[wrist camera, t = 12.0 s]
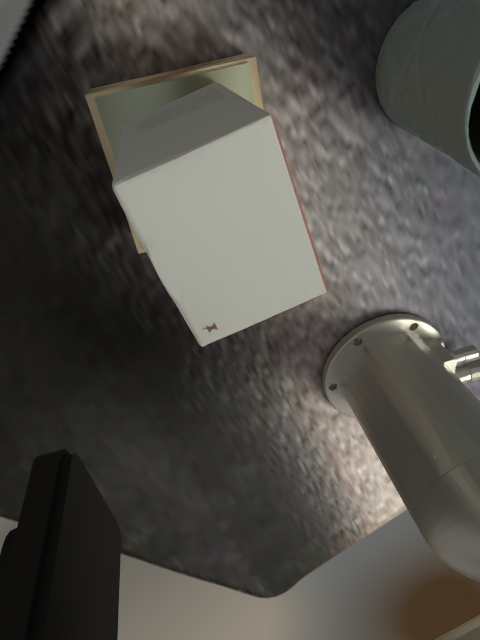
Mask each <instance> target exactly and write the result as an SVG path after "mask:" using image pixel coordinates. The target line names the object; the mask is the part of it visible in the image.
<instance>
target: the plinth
mask: <svg viewBox="0 0 480 640" xmlns="http://www.w3.org/2000/svg"><path fill="white" fill-rule="evenodd" d="M214 82H218V83H220V84H221V85H223V86H224V87H226V88H228V89H229V90H231V91H233V92H234V93H236V94H238V95H239V96H241V97H243V98H244V99H246V100H247V101H249V102H251V103H252V104H254V105H256V106H257V107H259V108H261V109H262V110H263V104H262V97H261V89H260V82H259V75H258V68H257V61H256V56H251V55H247V54H241V55H236V56H232V57H228V58H223V59H219V60H214V61H210V62H206V63H201V64H197V65H193V66H188V67H184V68H179V69H175V70H171V71H166V72H162V73H157V74H153V75H149V76H144V77H140V78H136V79H131V80H127V81H122V82H118V83H114V84H109V85H105V86H100V87H96V88H92V89H90V90H89V91H88V92H87V94H86V95H85V98H86V100H87V103H88V106H89V109H90V112H91V115H92V118H93V121H94V124H95V127H96V130H97V133H98V136H99V139H100V141H101V144H102V147H103V150H104V153H105V156H106V159H107V162H108V165H109V168H110V171H111V174H112V177H114V171H115V164H116V157H117V151H118V145H119V139H120V133H121V126H122V125H123V124H125V123H127V122H129V121H131V120H134V119H136V118H138V117H140V116H142V115H144V114H147V113H149V112H151V111H153V110H155V109H157V108H160V107H162V106H164V105H166V104H168V103H171V102H173V101H175V100H177V99H179V98H181V97H184V96H186V95H188V94H190V93H192V92H194V91H197V90H199V89H201V88H203V87H205V86H207V85H210V84H212V83H214ZM125 215H126V214H125ZM126 218H127V216H126ZM127 221H128V223H129V226H130V229H131V232H132V235H133V238H134V241H135V244H136V247H137V250H138V253H143V252H146V251H145V249H144V247H143V245H142V244H141V242H140V240H139V238H138V236H137V234H136V232H135V231H134V229H133V227H132V225H131V223H130V222H129V220H128V218H127Z"/></svg>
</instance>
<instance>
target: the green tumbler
mask: <svg viewBox="0 0 480 640" xmlns="http://www.w3.org/2000/svg"><path fill="white" fill-rule="evenodd" d="M375 82H376V90H377V94H378V98H379V102H380V104H381V106H382V108H383V110H384V111H385V113H386V115H387V116H388V117H389V118H390V119H391V120H392V121H393V122H394V123H395V124H396V125H398V126H399V127H401V128H403V129H405V130H406V131H408V132H410V133H411V134H413V135H415V136H416V137H419V138H420V139H422V140H423V141H424V142H427V143H428V144H430V145H431V146H433V147H435V148H436V149H438V150H439V151H440V152H442V153H445V154H447V155H449V156H451V157H452V158H453V159H454V160H455V161H456V162H458V163H459V164H461V165H462V166H464V167H466V168H467V169H469V170H470V171H472V172H473V173H475V174H476V175H478V176H479V177H480V0H417V1H416V2H414V3H413V4H412V5H411V6H410V7H408V8H407V9H406V10H405V11H404V12H403V13H402V14H401V15H400V16H399V17H398V18H397V20H396V21H395V23H394V24H393V25H392V27H391V28H390V30H389V31H388V33H387V35H386V37H385V39H384V42H383V44H382V46H381V49H380V52H379V56H378V60H377V65H376V75H375Z"/></svg>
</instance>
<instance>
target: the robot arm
mask: <svg viewBox="0 0 480 640" xmlns="http://www.w3.org/2000/svg"><path fill="white" fill-rule="evenodd" d="M477 358H478V351H477V349H476V347H475V346H473V345H471V346H468V347H464V348H460V349H458V350H456V351H451V350H448V349H447V350H446V349H445V344H444V341H443V338H442V336H441V335H440V333H439V332H438V331H437V329H436V328H435V327H434V326H432V325H431V324H430V323H429V322H428V321H426V320H425V319H423V318H421V317H418V316H415V315H411V314H400V313H399V314H389V315H385V316H381V317H377V318H374V319H372V320H370V321H367V322H365V323H363V324H361V325H360V326H358V327H356V328H355V329H353V330H352V331H351V332H349V333H348V334H347V335H346V336H344V337H343V338H342V339H341V340H340V341H339V343H338V344H337V345H336V346H335V347H334V349H333V350H332V352H331V353H330V355H329V356H328V358H327V361H326V363H325V366H324V369H323V375H322V384H323V388H324V392H325V394H326V396H327V398H328V400H329V402H330V403H331V404H332V405H333V407H334V408H335V409H337V410H338V411H339V412H341V413H342V414H345V415H347V416H350V417H354V418H357V420H358V422H359V423H360V425H361V427H362V429H363V431H364V432H365V434H366V436H367V438H368V440H369V441H370V443H371V445H372V447H373V448H374V450H375V452H376V454H377V456H378V457H379V459H380V461H381V463H382V465H383V466H384V468H385V470H386V472H387V473H388V475H389V477H390V479H391V481H392V482H393V484H394V486H395V488H396V489H397V491H398V493H399V495H400V497H401V498H402V500H403V502H404V504H405V506H406V507H407V509H408V511H409V513H410V514H411V516H412V518H413V520H414V522H415V523H416V525H417V527H418V529H419V531H420V532H421V534H422V536H423V538H424V539H425V541H426V542H427V544H428V545H429V547H430V548H431V549H432V550H433V551H434V553H435V554H436V555H437V556H438V557H439V558H440V559H441V560H443V562H445V563H446V564H447V565H449V566H450V567H452V568H453V569H455V570H456V571H458V572H460V573H462V574H464V575H466V576H468V577H470V578H472V579H474V580H476V581H479V582H480V401H479V400H478V399H477V398H476V397H475V396H474V395H473V394H472V393H471V391H470V390H469V389H468V388H467V387H466V386H465V385H464V384H463V383H466V382H469V383H470V382H473V381H477V380H480V359H479V360H475V361H471V360H474V359H477ZM467 361H471V362H468V363H464V364H462V365H461V366H457V367H456V364H457V363H461V362H467ZM120 553H121V535H120V529H119V526H118V523H117V522H116V520H115V518H114V516H113V515H112V513H111V511H110V509H109V508H108V506H107V504H106V502H105V501H104V499H103V497H102V495H101V494H100V492H99V490H98V489H97V487H96V485H95V483H94V482H93V480H92V478H91V476H90V475H89V473H88V471H87V469H86V468H85V466H84V464H83V462H82V461H81V459H80V457H79V456H78V454H76V453H75V454H71V455H70V453H69V452H68V451H67V450H65V449H63V450H59V451H55V452H52V453H48V454H44V455H40V456H37V457H36V458H35V460H34V462H33V466H32V470H31V474H30V478H29V482H28V486H27V490H26V494H25V498H24V502H23V506H22V510H21V514H20V518H19V523H18V527H17V528H16V529H13V530H11V531H10V532H9V534H8V535H7V536H6V538H5V541H4V544H3V547H2V550H1V554H0V640H117V633H118V632H117V631H118V605H119V579H120ZM436 640H480V616H478V617H476V618H474V619H472V620H471V621H469V622H467V623H465V624H463V625H461V626H459V627H458V628H456V629H454V630H452V631H450V632H448V633H447V634H445V635H443V636H441V637H439V638H437V639H436Z"/></svg>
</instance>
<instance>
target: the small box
mask: <svg viewBox="0 0 480 640" xmlns="http://www.w3.org/2000/svg"><path fill="white" fill-rule="evenodd" d="M112 189H113V191H114V193H115V195H116V197H117V199H118V201H119V203H120V205H121V207H122V208H123V210H124V212H125V214H126V216H127V218H128V220H129V222H130V223H131V225H132V227H133V229H134V231H135V232H136V234H137V236H138V238H139V240H140V242H141V244H142V245H143V247H144V249H145V251H146V253H147V255H148V257H149V258H150V260H151V262H152V264H153V266H154V268H155V270H156V272H157V274H158V276H159V278H160V280H161V281H162V283H163V285H164V286H165V288H166V290H167V292H168V294H169V295H170V297H171V298H172V299H173V301H174V302H175V304H176V305H177V307H178V309H179V310H180V312H181V314H182V315H183V317H184V319H185V321H186V323H187V324H188V326H189V328H190V329H191V331H192V333H193V334H194V336H195V338H196V340H197V341H198V343H199V345H200V346H202V347H203V346H205V345H207V344H210V343H212V342H214V341H216V340H219V339H221V338H224V337H226V336H228V335H231V334H233V333H235V332H238V331H240V330H242V329H245V328H247V327H249V326H251V325H254V324H256V323H258V322H261V321H263V320H265V319H268V318H270V317H272V316H274V315H276V314H279V313H281V312H283V311H285V310H288V309H290V308H292V307H295V306H297V305H299V304H301V303H304V302H306V301H308V300H310V299H312V298H314V297H317V296H319V295H321V294H324V293H326V292H327V287H326V283H325V280H324V277H323V274H322V271H321V267H320V264H319V261H318V258H317V255H316V251H315V248H314V245H313V242H312V239H311V236H310V232H309V229H308V226H307V223H306V220H305V217H304V214H303V211H302V207H301V204H300V201H299V198H298V195H297V192H296V188H295V185H294V182H293V179H292V176H291V173H290V170H289V167H288V164H287V161H286V157H285V154H284V151H283V148H282V145H281V141H280V138H279V135H278V132H277V129H276V126H275V123H274V120H273V117H272V115H271V114H269V113H267V112H266V111H264V110H262V109H261V108H259V107H257V106H256V105H254V104H252V103H251V102H249V101H247V100H246V99H244V98H243V97H241V96H239V95H238V94H236V93H234V92H233V91H231V90H229V89H228V88H226V87H224V86H223V85H221V84H220V83H218V82H214V83H212V84H210V85H207V86H205V87H203V88H201V89H199V90H197V91H194V92H192V93H190V94H188V95H186V96H184V97H181V98H179V99H177V100H175V101H173V102H171V103H168V104H166V105H164V106H162V107H160V108H157V109H155V110H153V111H151V112H149V113H147V114H144V115H142V116H140V117H138V118H136V119H134V120H131V121H129V122H127V123H125V124H123V125H122V126H121V133H120V139H119V145H118V151H117V157H116V164H115V171H114V177H113V182H112Z"/></svg>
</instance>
